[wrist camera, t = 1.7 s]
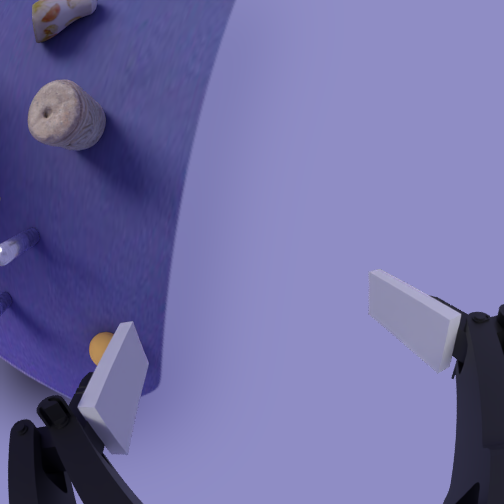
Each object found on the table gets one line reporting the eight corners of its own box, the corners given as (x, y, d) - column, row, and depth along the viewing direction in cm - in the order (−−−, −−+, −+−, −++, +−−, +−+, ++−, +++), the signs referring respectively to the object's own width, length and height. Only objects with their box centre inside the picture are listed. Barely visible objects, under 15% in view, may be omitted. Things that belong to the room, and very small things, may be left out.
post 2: (24, 237, 29) (-9, 257, 20) (30, 224, 29) (-3, 240, 20) (35, 248, 30) (4, 270, 21) (42, 234, 29) (10, 254, 21)
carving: (89, 163, 29) (51, 162, 18) (54, 129, 26) (8, 116, 15) (122, 124, 29) (98, 103, 18) (86, 91, 26) (51, 61, 15)
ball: (87, 342, 35) (79, 363, 30) (103, 318, 35) (95, 339, 30) (117, 360, 38) (113, 383, 32) (134, 338, 37) (130, 361, 32)
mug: (109, 18, 23) (61, 14, 15) (62, 46, 25) (15, 53, 17) (104, -19, 19) (58, -29, 11) (58, 11, 21) (12, 13, 13)
